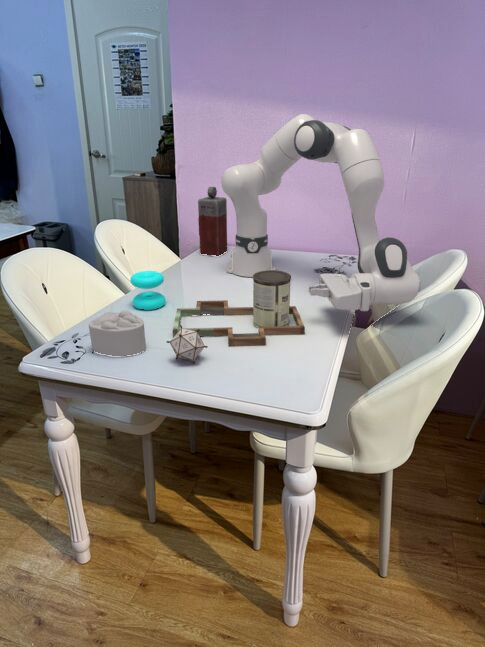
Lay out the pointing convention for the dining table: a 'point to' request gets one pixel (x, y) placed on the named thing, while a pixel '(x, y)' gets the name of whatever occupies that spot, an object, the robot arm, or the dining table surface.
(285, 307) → the coffee can
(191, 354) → the game die
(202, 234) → the red grey square bottle
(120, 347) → the lumpy-topped squat cylinder
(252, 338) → the brown wooden frame
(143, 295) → the donuts
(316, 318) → the dining table surface
